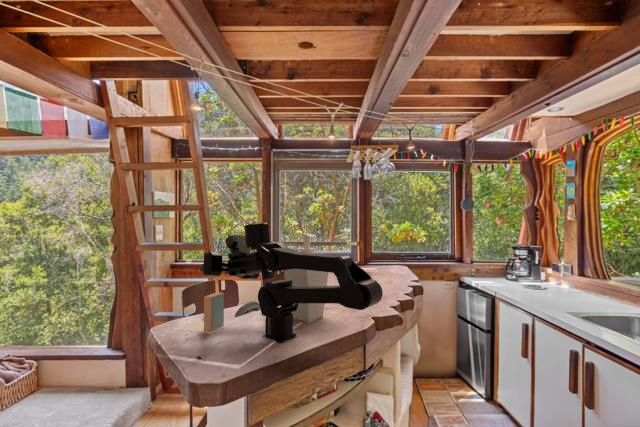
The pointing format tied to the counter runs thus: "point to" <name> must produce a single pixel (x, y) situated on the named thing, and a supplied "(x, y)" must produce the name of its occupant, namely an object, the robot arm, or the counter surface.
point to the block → (213, 311)
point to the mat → (196, 327)
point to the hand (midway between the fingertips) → (213, 269)
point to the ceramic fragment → (247, 308)
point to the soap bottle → (307, 284)
